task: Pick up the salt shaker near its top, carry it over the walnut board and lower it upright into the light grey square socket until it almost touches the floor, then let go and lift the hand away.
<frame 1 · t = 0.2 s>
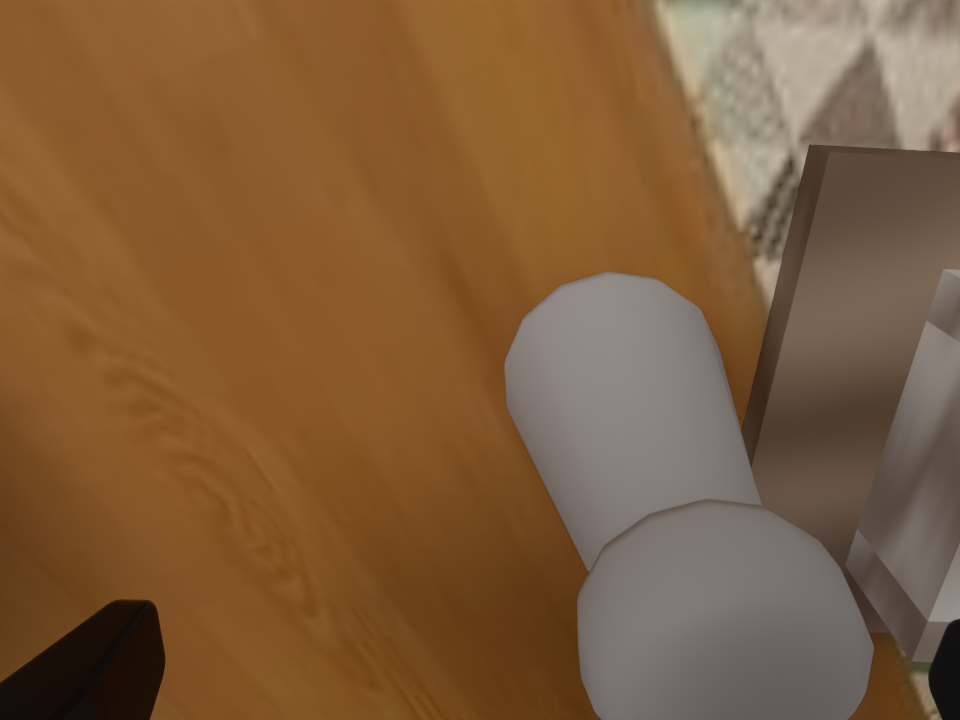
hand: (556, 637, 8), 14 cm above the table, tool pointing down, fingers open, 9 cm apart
salt shaker: (595, 339, 22), on the table
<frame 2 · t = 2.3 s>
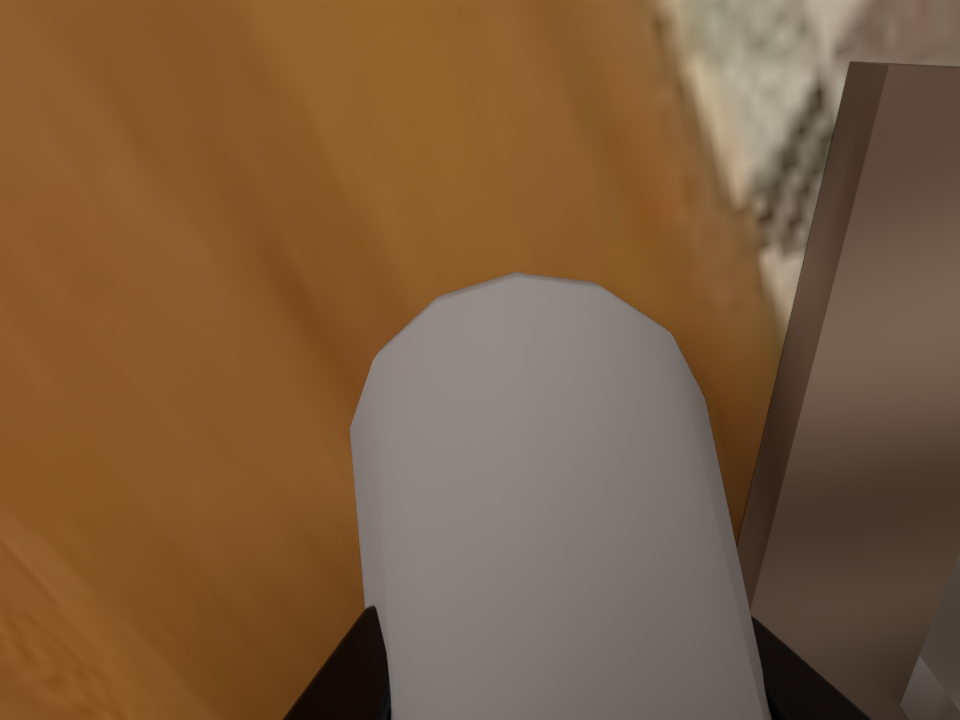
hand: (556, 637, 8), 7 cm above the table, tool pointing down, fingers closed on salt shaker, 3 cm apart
salt shaker: (518, 377, 14), on the table, touching gripper
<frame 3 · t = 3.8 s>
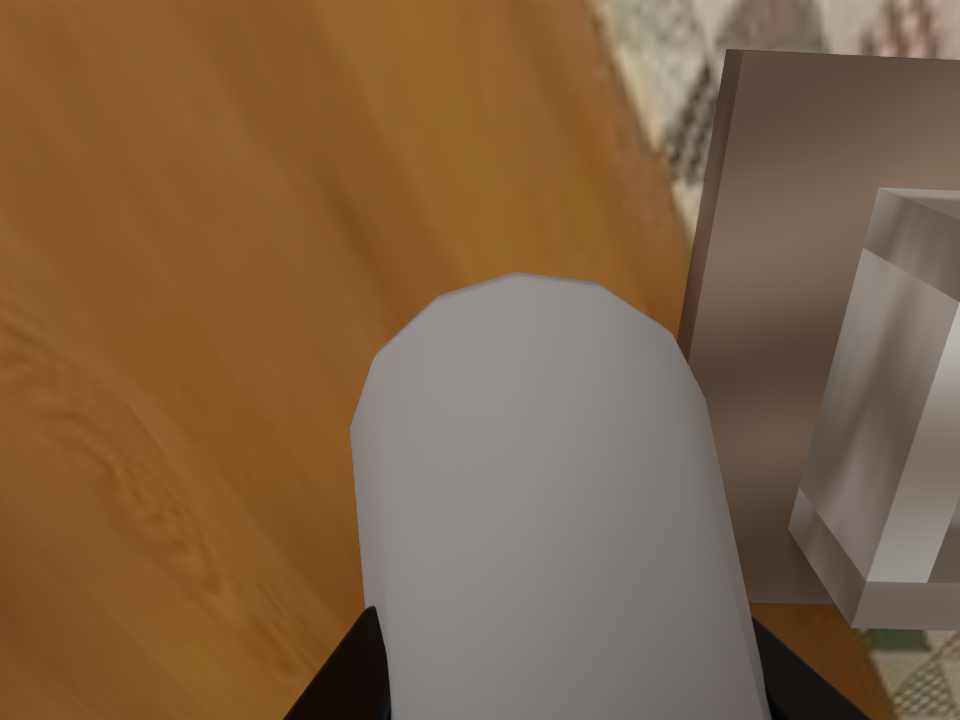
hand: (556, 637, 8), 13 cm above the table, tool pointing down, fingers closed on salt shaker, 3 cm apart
salt shaker: (518, 377, 14), point 6 cm above the table, touching gripper
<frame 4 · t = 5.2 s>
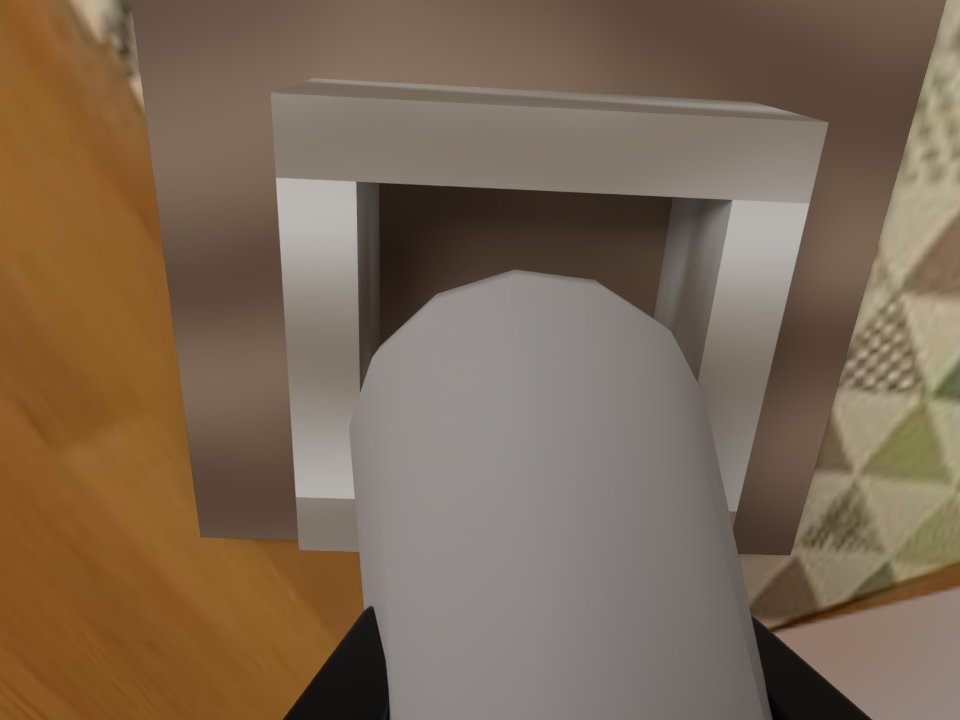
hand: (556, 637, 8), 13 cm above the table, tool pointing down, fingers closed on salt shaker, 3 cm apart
socket board: (516, 283, 20), on the table
salt shaker: (517, 376, 14), point 6 cm above the table, touching gripper
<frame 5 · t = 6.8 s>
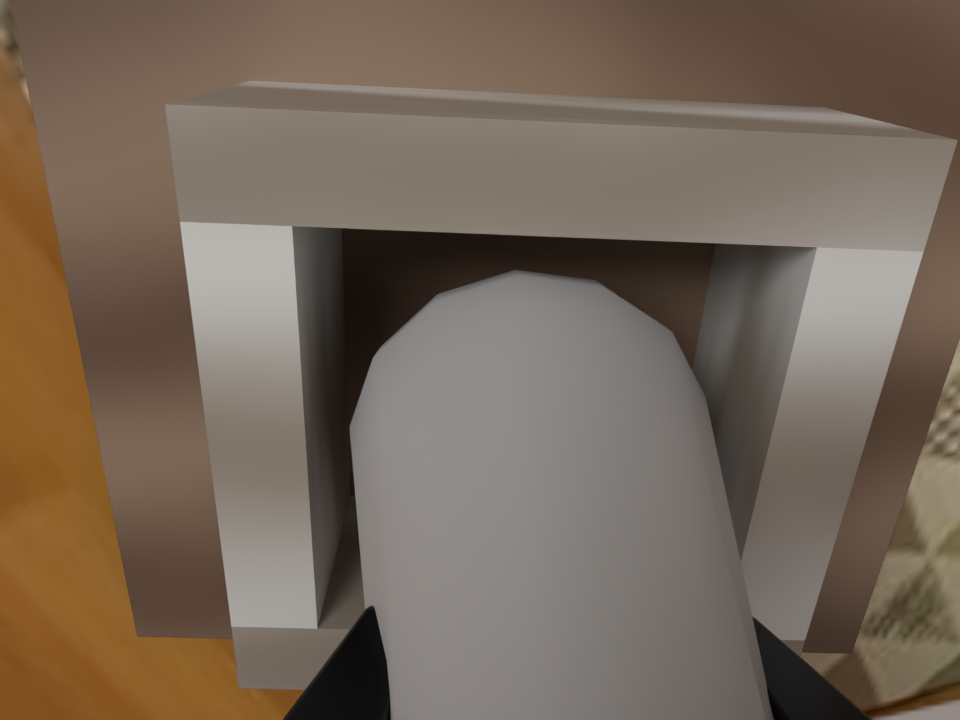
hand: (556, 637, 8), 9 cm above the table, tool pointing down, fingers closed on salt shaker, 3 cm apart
socket board: (517, 333, 16), on the table
salt shaker: (518, 376, 14), point 2 cm above the table, touching gripper
when the fingers open (8 cm above the table, at t = 8.2 s): salt shaker stays where it is, resting on socket board.
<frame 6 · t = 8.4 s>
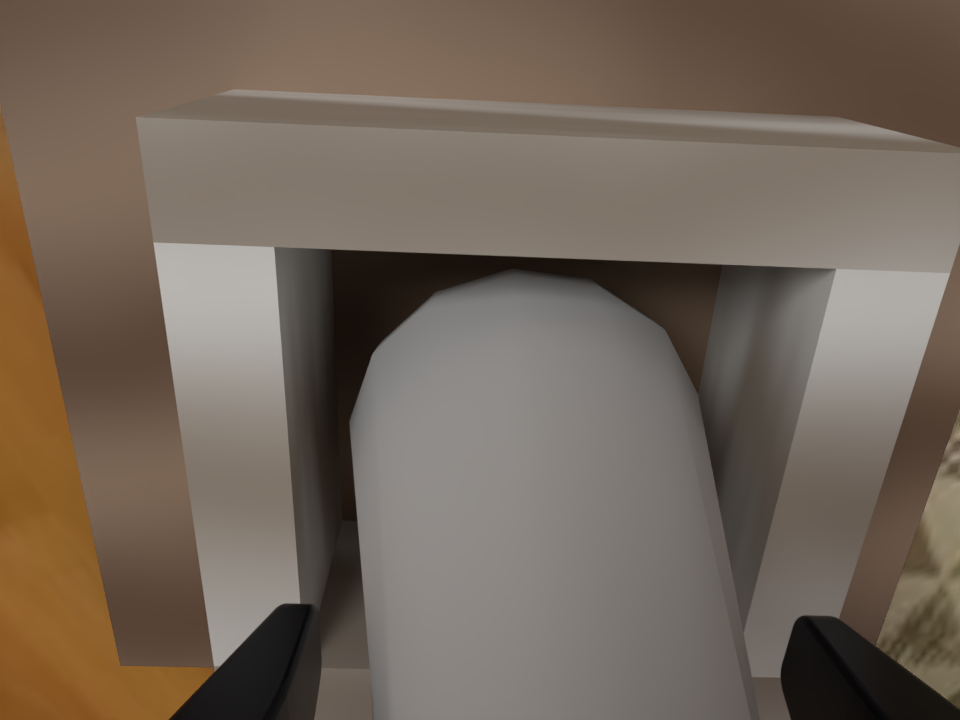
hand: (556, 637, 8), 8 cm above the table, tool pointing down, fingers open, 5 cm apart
socket board: (516, 351, 16), on the table
salt shaker: (515, 373, 15), point 1 cm above the table, touching socket board
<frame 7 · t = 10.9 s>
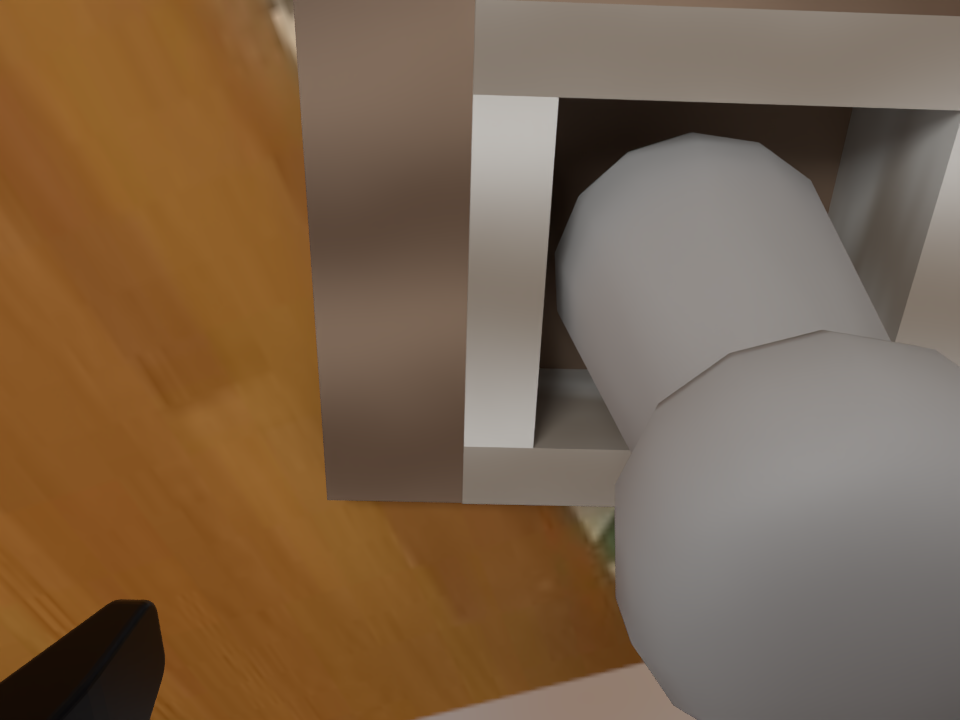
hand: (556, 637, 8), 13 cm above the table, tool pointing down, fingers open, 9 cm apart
socket board: (664, 227, 19), on the table
salt shaker: (673, 241, 18), point 1 cm above the table, touching socket board
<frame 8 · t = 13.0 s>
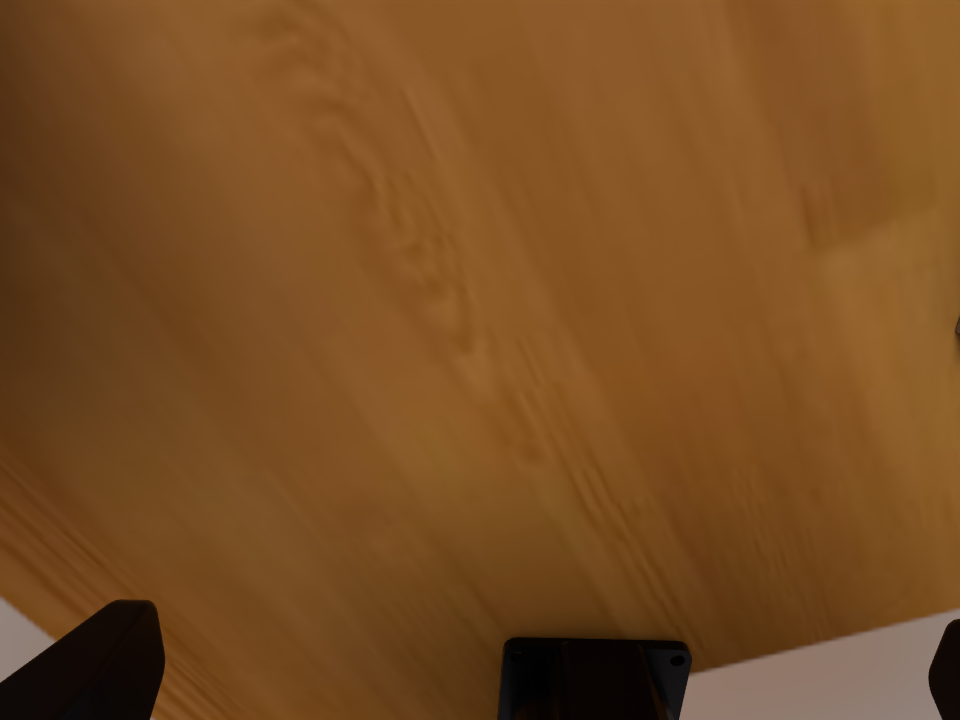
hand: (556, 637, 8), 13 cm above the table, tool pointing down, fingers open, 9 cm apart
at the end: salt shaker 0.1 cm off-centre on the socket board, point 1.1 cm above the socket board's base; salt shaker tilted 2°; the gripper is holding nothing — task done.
